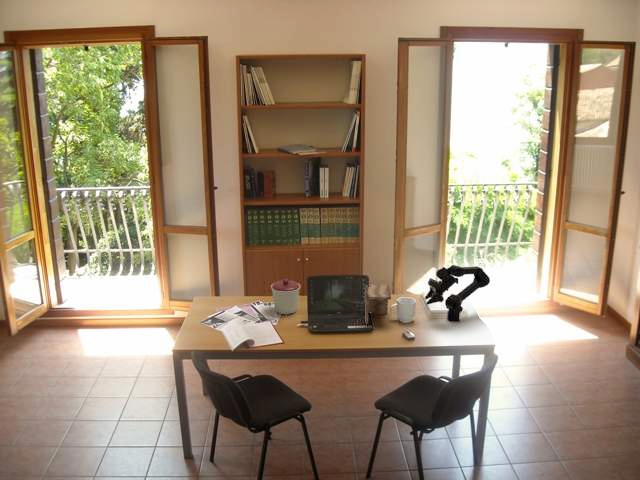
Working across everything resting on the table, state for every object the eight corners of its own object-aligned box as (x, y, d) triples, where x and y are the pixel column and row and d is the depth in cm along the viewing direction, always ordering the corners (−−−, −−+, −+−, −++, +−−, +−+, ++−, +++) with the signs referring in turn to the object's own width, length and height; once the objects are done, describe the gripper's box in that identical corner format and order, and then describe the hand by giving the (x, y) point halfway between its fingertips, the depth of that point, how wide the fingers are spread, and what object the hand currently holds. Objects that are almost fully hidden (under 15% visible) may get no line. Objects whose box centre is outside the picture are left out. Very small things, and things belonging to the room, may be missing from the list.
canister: (302, 306, 381) (302, 274, 375) (298, 317, 364) (298, 284, 358) (274, 304, 383) (273, 273, 377) (268, 316, 365) (268, 283, 359)
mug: (390, 324, 356) (391, 303, 352) (389, 316, 366) (389, 296, 362) (415, 324, 355) (416, 304, 351) (413, 317, 366) (415, 297, 362)
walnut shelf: (387, 312, 371) (388, 284, 366) (389, 326, 352) (390, 297, 347) (364, 312, 372) (365, 284, 367) (365, 326, 353) (366, 296, 347)
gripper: (434, 269, 361) (414, 286, 364) (439, 280, 343) (418, 298, 346) (446, 281, 363) (427, 298, 366) (452, 293, 345) (431, 311, 348)
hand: (426, 301), depth 357 cm, fingers open, 7 cm apart
